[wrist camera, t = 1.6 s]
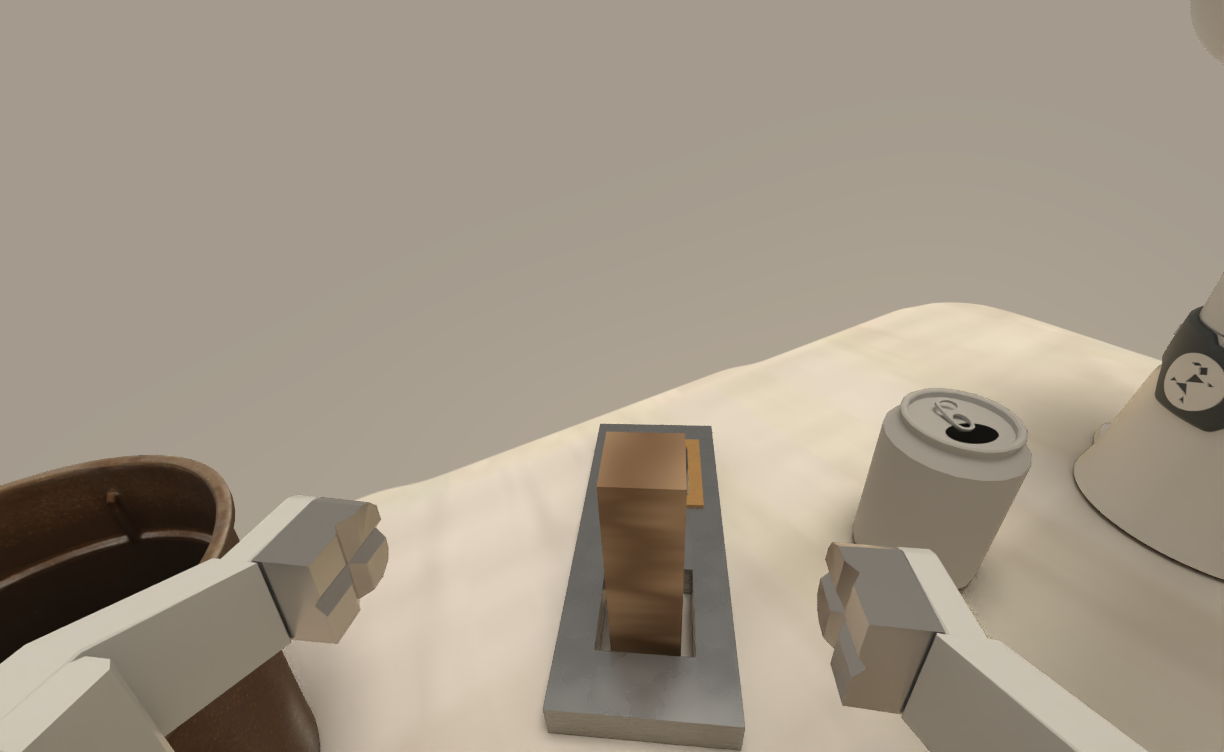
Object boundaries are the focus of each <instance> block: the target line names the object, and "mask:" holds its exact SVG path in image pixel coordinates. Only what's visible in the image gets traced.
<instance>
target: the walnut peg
mask: <svg viewBox="0 0 1224 752" xmlns="http://www.w3.org/2000/svg"><path fill="white" fill-rule="evenodd" d="M596 488H597V499H598V510H599V521H600V532H601V543H602V554H603V565H604V576H605V588H606V599H607V610H608V621H609V632H610V643H611V652H625V653H639V654H653V655H666V656H680V657H681V632H682V606H683V580H684V554H685V528H686V503H687V477H686V451H685V433H648V432H606V436H605V442H604V447H603V453H602V459H601V464H600V470H599V475H598V481H597V486H596Z"/></svg>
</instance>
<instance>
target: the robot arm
mask: <svg viewBox="0 0 1224 752" xmlns="http://www.w3.org/2000/svg"><path fill="white" fill-rule="evenodd" d="M1191 17H1192V22H1193V26H1194V29H1195V32H1196V34H1197V36H1198V38H1199V40H1200V41H1201V43H1202V44H1203V46H1204V47H1205V48H1206V49H1207V51H1208V52H1209V53H1210V54H1211V55H1212V56H1213V57H1215V58H1216V59H1217V60H1219V61H1220V62H1221V63H1223V64H1224V0H1191ZM1174 335H1175V336H1174V338H1173V339H1172V341H1171V342H1170V344H1169V346H1168V347H1167V349H1166V351H1165V352H1164V354H1163V357H1162V364H1161V365H1159V366H1158V367H1157V368H1156V369H1155V370H1154V371H1153V372H1152V373H1151V374H1150V376H1149V377H1148V378H1147V379H1146V381H1145V382H1144V383H1143V384H1142V386H1141V387H1140V388H1139V389H1138V390H1137V392H1136V393H1135V394H1134V395H1133V397H1132V398H1131V399H1130V400H1129V402H1128V403H1127V404H1126V405H1125V407H1124V408H1123V409H1122V411H1121V412H1120V413H1119V414H1118V416H1117V417H1116V418H1115V419H1114V421H1113V422H1112V423H1106V424H1103V425H1102V426H1101V427H1100V428H1099V429H1098V431H1097V432H1096V433H1095V435H1094V444H1093V445H1092V446H1091V447H1090V448H1089V449H1088V450H1087V451H1086V452H1085V453H1083V454H1082V455H1081V456H1080V457H1079V458H1078V459H1077V461H1076V462H1075V465H1074V476H1075V480H1076V482H1077V484H1078V486H1079V488H1080V490H1081V491H1082V492H1083V494H1084V495H1085V496H1086V498H1087V499H1088V500H1089V501H1090V502H1091V503H1092V504H1093V505H1094V506H1095V507H1096V508H1097V509H1098V510H1099V511H1100V512H1101V513H1102V514H1103V515H1104V516H1106V517H1107V518H1108V519H1109V520H1111V521H1112V522H1113V523H1115V524H1116V525H1117V526H1119V527H1120V528H1121V529H1123V530H1124V531H1126V532H1127V533H1129V534H1130V535H1132V536H1133V537H1135V538H1136V539H1138V540H1140V541H1141V542H1143V543H1145V544H1146V545H1148V546H1150V547H1152V548H1154V549H1155V550H1157V551H1159V552H1161V553H1163V554H1165V555H1167V556H1169V557H1171V558H1173V559H1175V560H1177V561H1179V562H1181V563H1183V564H1186V565H1188V566H1190V567H1192V568H1195V569H1197V570H1199V571H1202V572H1204V573H1207V574H1209V575H1212V576H1215V577H1217V578H1220V579H1223V580H1224V273H1223V274H1222V276H1221V278H1220V280H1219V282H1218V283H1217V285H1216V287H1215V288H1214V290H1213V292H1212V294H1211V295H1210V297H1209V299H1208V300H1207V302H1206V304H1205V305H1204V306H1202V307H1199V308H1196V309H1194V310H1193V311H1191V313H1190V314H1189V315H1188V317H1187V318H1186V319H1185V321H1184V322H1183V324H1181V325H1180V326H1179V328H1178V329H1177V330H1176V332H1175V333H1174ZM380 520H381V518H380V515H379V512H378V508H377V505H374V504H372V503H369V502H361V501H352V500H342V499H334V498H325V497H320V498H318V497H311V496H302V495H296V496H293V497H290V498H287V499H286V500H285V501H284V502H283V503H281V505H279V506H278V507H277V508H276V509H275V510H274V511H273V512H272V513H271V514H269V515H268V516H267V517H266V518H265V519H264V520H263V521H262V522H261V523H260V524H258V525H257V526H256V527H255V528H254V529H253V530H252V531H251V532H250V533H249V534H247V535H246V536H245V537H244V538H243V539H242V540H241V541H240V542H239V543H238V544H236V545H235V546H234V547H233V548H232V549H231V550H230V551H229V552H228V553H227V554H225V555H224V556H223V557H222V558H221V559H216V558H212V559H210V560H208V561H205V562H203V563H201V564H199V565H197V566H195V567H192V568H190V569H188V570H186V571H184V572H182V573H179V574H177V575H175V576H173V577H171V578H169V579H166V580H164V581H162V582H160V583H158V584H156V585H153V586H151V587H149V588H147V589H145V590H143V591H140V592H138V593H136V594H134V595H132V596H130V597H127V598H125V599H123V600H121V601H119V602H117V603H114V604H112V605H110V606H108V607H106V608H104V609H101V610H99V611H97V612H95V613H93V614H91V615H88V616H86V617H84V618H82V619H80V620H78V621H75V622H73V623H71V624H69V625H67V626H65V627H62V628H60V629H58V630H56V631H54V632H52V633H49V634H47V635H45V636H43V637H41V638H39V639H36V640H34V641H32V642H30V643H28V644H26V645H24V646H23V647H22V648H20V649H19V650H18V651H16V652H15V653H14V654H12V655H11V656H10V657H9V658H7V659H6V660H5V661H3V662H2V663H1V664H0V752H174V750H173V749H172V747H171V746H170V744H169V743H168V742H167V740H166V739H165V736H166V735H168V734H169V733H170V732H172V731H173V730H174V729H176V728H177V727H178V726H180V725H181V724H182V723H184V722H185V721H186V720H188V719H189V718H190V717H192V716H193V715H194V714H196V713H197V712H198V711H200V710H201V709H203V708H204V707H205V706H207V705H208V704H209V703H211V702H212V701H213V700H215V699H216V698H217V697H219V696H220V695H221V694H223V693H224V692H225V691H227V690H228V689H229V688H231V687H232V686H233V685H235V684H236V683H237V682H239V681H240V680H241V679H243V678H244V677H245V676H247V675H248V674H250V673H251V672H252V671H254V670H255V669H256V668H258V667H259V666H260V665H262V664H263V663H264V662H266V661H267V660H268V659H270V658H271V657H272V656H274V655H275V654H276V653H278V652H279V651H280V650H282V649H283V648H284V647H286V646H287V645H288V644H290V643H291V640H301V641H312V642H324V643H335V644H338V642H339V641H340V639H341V638H342V637H343V635H344V634H345V632H346V631H347V629H348V628H349V626H350V625H351V623H352V622H353V620H354V619H355V617H356V616H357V615H358V613H359V612H360V600H359V599H360V598H362V597H363V596H365V595H366V594H368V593H370V592H371V591H373V590H374V589H375V588H376V586H377V585H378V583H379V582H380V580H381V579H382V577H383V575H384V572H385V569H386V566H387V562H388V550H389V548H388V544H387V540H386V537H385V536H384V535H383V534H382V533H381V532H380V531H379V530H378V529H377V528H376V527H377V525H378V523H379V522H380ZM825 560H826V563H827V566H828V569H829V573H827V574H826V575H825V576H823V577H822V578H821V579H820V584H819V588H818V593H817V611H818V617H819V624H820V627H821V631H822V635H823V638H824V639H825V640H826V641H827V642H828V643H829V644H830V645H831V646H832V647H833V648H834V653H833V656H832V660H831V667H832V671H833V674H834V678H835V681H836V684H837V688H838V691H839V695H840V698H841V702H842V705H843V706H849V707H856V708H862V709H869V710H876V711H882V712H889V713H895V714H902V717H901V718H902V719H903V720H904V721H905V722H906V724H907V725H908V726H909V727H910V728H911V730H912V731H913V732H914V733H915V734H916V735H917V737H918V738H919V739H920V740H921V741H922V743H923V744H924V745H925V746H926V747H927V749H928V750H929V751H930V752H1148V751H1147V750H1145V749H1144V748H1143V747H1141V746H1140V745H1139V744H1137V743H1136V742H1135V741H1133V740H1132V739H1131V738H1129V737H1128V736H1127V735H1125V734H1124V733H1123V732H1121V731H1120V730H1119V729H1117V728H1116V727H1115V726H1113V725H1112V724H1111V723H1109V722H1108V721H1107V720H1105V719H1104V718H1103V717H1101V716H1100V715H1099V714H1097V713H1096V712H1095V711H1093V710H1092V709H1091V708H1089V707H1088V706H1087V705H1085V704H1084V703H1083V702H1081V701H1080V700H1079V699H1077V698H1076V697H1075V696H1073V695H1072V694H1071V693H1069V692H1068V691H1067V690H1065V689H1064V688H1063V687H1061V686H1060V685H1059V684H1057V683H1056V682H1055V681H1053V680H1052V679H1051V678H1049V677H1048V676H1047V675H1045V674H1044V673H1043V672H1041V671H1040V670H1039V669H1037V668H1036V667H1034V666H1033V665H1032V664H1030V663H1029V662H1028V661H1026V660H1025V659H1024V658H1022V657H1021V656H1020V655H1018V654H1017V653H1016V652H1014V651H1013V650H1012V649H1010V648H1009V647H1008V646H1006V645H1005V644H1004V643H1002V642H1001V641H1000V640H994V639H988V638H987V636H986V634H985V633H984V631H983V630H982V628H981V626H980V625H979V623H978V621H977V620H976V618H975V617H974V615H973V613H972V612H971V610H970V608H969V607H968V605H967V604H966V602H965V600H964V599H963V597H962V595H961V594H960V592H959V591H958V589H957V587H956V586H955V584H954V583H953V581H952V579H951V578H950V576H949V574H948V573H947V571H946V570H945V568H944V566H943V565H942V563H941V561H940V560H939V558H938V557H937V555H936V554H935V553H934V552H932V551H931V550H930V549H920V548H906V547H895V548H894V547H888V546H875V545H863V544H850V543H837V542H832V543H831V545H830V546H829V548H828V551H827V555H826V559H825Z"/></svg>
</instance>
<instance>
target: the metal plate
mask: <svg viewBox="0 0 1224 752" xmlns="http://www.w3.org/2000/svg"><path fill="white" fill-rule="evenodd" d="M606 432H648V433H685V451H686V470H687V503H686V528H685V554H684V580H683V593H691V600H692V626H693V652H694V657H680V656H666V655H653V654H639V653H625V652H611V651H600V645H601V637H602V629H603V621H604V613H605V605H606V588H605V576H604V565H603V554H602V543H601V532H600V521H599V510H598V499H597V488H596V486H597V481H598V475H599V470H600V464H601V459H602V453H603V447H604V442H605V436H606ZM543 713H544V717H545V721H546V725H547V729H548V733H559V734H570V735H580V736H591V737H602V738H613V739H624V740H634V741H645V742H656V743H667V744H678V745H688V746H699V747H710V748H721V749H731V750H741V748H742V742H743V737H744V731H745V722H744V713H743V704H742V695H741V686H740V677H739V668H738V659H737V651H736V642H735V633H734V624H733V615H732V606H731V597H730V588H729V580H728V571H727V562H726V553H725V544H724V535H723V526H722V517H721V509H720V500H719V491H718V482H717V473H716V464H715V455H714V446H713V438H712V429H711V426H682V425H634V424H600V428H599V433H598V438H597V443H596V448H595V453H594V458H593V463H592V468H591V473H590V478H589V482H588V487H587V492H586V497H585V502H584V507H583V512H582V517H581V522H580V527H579V532H578V537H577V542H576V547H575V552H574V557H573V562H572V567H571V572H570V577H569V582H568V587H567V592H566V597H565V602H564V607H563V612H562V617H561V622H560V627H559V632H558V637H557V642H556V646H555V651H554V656H553V661H552V666H551V671H550V676H549V681H548V686H547V691H546V696H545V701H544V706H543Z"/></svg>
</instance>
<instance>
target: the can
mask: <svg viewBox="0 0 1224 752" xmlns="http://www.w3.org/2000/svg"><path fill="white" fill-rule="evenodd" d="M1027 434H1028V431H1027V429H1026V427H1025V426H1024V424H1023V422H1022V421H1021V420H1020V419H1019V418H1018V417H1017V416H1016V415H1015V414H1013V413H1012V412H1011V411H1010V410H1009V409H1007V408H1005V407H1003V406H1002V405H1000V404H998V403H996V402H994V401H992V400H989V399H987V398H984V397H982V396H979V395H976V394H972V393H968V392H964V391H960V390H954V389H945V388H928V389H922V390H918V391H914V392H911V393H910V394H908V395H907V396H905V397H904V398H903V400H902V402H901V404H900V405H898V406H896V407H895V408H893V409H892V410H890V411H889V412H887V414H886V417H885V419H884V421H883V424H882V427H881V431H880V434H879V438H878V441H877V445H876V448H875V451H874V455H873V458H872V462H871V465H870V469H869V472H868V476H867V479H866V483H865V486H864V490H863V493H862V496H861V500H860V503H859V507H858V510H857V514H856V517H855V521H854V524H853V534H854V540H855V542H856V544H863V545H875V546H888V547H894V548H895V547H906V548H920V549H930V550H931V551H932V552H934V553H935V554H936V555H937V557H938V558H939V560H940V561H941V563H942V565H943V566H944V568H945V570H946V571H947V573H948V574H949V576H950V578H951V579H952V581H953V583H954V584H955V586H956V587H957V589H960V588H963V587H965V586H967V584H968V583H969V582H970V581H971V580H972V579H973V578H974V577H975V575H976V573H977V571H978V569H979V567H980V565H981V563H982V561H983V559H984V557H985V555H986V553H987V551H988V549H989V547H990V545H991V543H992V541H993V539H994V537H995V535H996V534H997V532H998V530H999V528H1000V526H1001V524H1002V522H1003V520H1004V518H1005V516H1006V514H1007V512H1008V510H1009V508H1010V506H1011V504H1012V502H1013V500H1014V498H1015V496H1016V494H1017V492H1018V490H1019V488H1020V486H1021V485H1022V483H1023V481H1024V479H1025V477H1026V475H1027V473H1028V471H1029V469H1030V467H1031V457H1032V454H1031V452H1030V450H1029V449H1028V447H1027V445H1026V442H1027Z"/></svg>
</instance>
